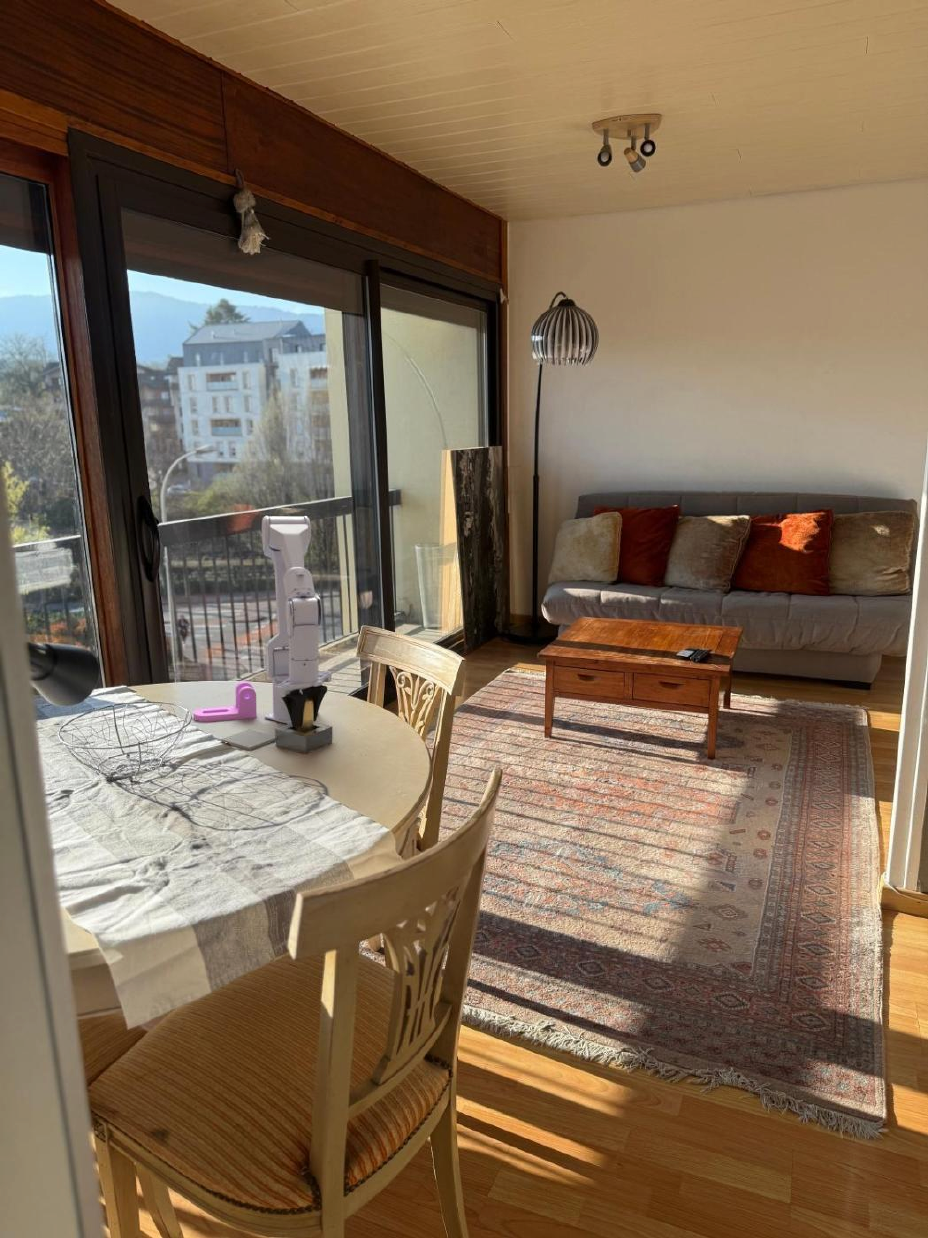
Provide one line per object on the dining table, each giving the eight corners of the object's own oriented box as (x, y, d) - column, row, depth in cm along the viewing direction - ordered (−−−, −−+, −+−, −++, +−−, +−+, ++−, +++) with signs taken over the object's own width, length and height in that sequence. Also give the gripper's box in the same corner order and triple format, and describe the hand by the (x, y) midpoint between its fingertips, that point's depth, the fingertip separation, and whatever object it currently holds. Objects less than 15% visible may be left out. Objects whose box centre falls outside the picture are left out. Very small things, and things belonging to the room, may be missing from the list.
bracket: (252, 710, 196) (252, 680, 195) (256, 718, 191) (256, 687, 190) (192, 715, 191) (191, 684, 190) (194, 723, 186) (193, 691, 185)
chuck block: (302, 735, 181) (302, 718, 180) (332, 742, 177) (332, 726, 176) (275, 745, 174) (275, 728, 173) (305, 754, 170) (305, 737, 169)
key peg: (303, 733, 177) (303, 696, 176) (317, 737, 176) (317, 699, 174) (291, 738, 174) (291, 700, 173) (305, 742, 173) (305, 703, 171)
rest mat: (250, 731, 182) (250, 728, 181) (278, 739, 177) (278, 736, 177) (220, 742, 175) (220, 739, 175) (249, 750, 171) (249, 747, 171)
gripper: (293, 668, 164) (294, 737, 166) (343, 653, 176) (342, 718, 178) (266, 662, 167) (267, 729, 170) (316, 648, 179) (316, 711, 182)
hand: (304, 723), depth 174 cm, fingers closed on key peg, 4 cm apart
